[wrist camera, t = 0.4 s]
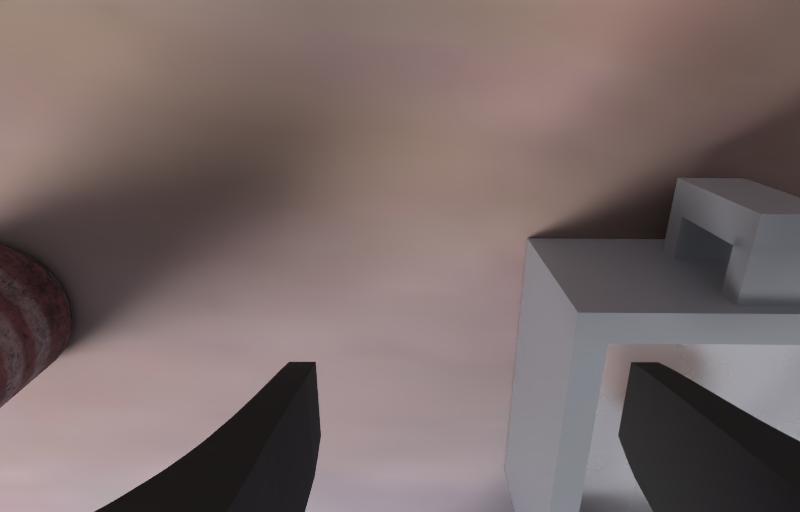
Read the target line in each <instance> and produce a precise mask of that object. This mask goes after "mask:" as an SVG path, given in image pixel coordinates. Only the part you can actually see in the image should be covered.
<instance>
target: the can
mask: <svg viewBox="0 0 800 512" xmlns="http://www.w3.org/2000/svg"><path fill="white" fill-rule="evenodd" d="M71 328H72V317H71V310H70V303H69V300H68V298H67V296H66V294H65V292H64V290H63V288H62V286H61V284H60V282H59V281H58V280H57V279H56V278H55V277H54V276H53V275H52V273H51V272H50V271H49V270H48V269H47V268H46V267H45V266H43V265H42V264H41V263H39V262H38V261H36V260H35V259H33V258H32V257H30V256H29V255H27V254H25V253H22V252H20V251H17V250H14V249H12V248H9V247H6V246H2V245H0V408H1V407H2V406H3V405H4V404H5V403H6V402H8V401H9V400H10V399H11V398H12V397H13V396H15V395H16V394H17V393H18V392H19V391H20V390H21V389H23V388H24V387H25V386H26V385H27V384H28V383H30V382H31V381H32V380H33V379H34V378H35V377H37V376H38V375H39V374H40V373H41V372H42V371H44V370H45V369H46V368H47V367H48V366H49V365H51V364H52V363H53V362H54V361H55V360H56V359H57V358H58V357H59V355H60V354H61V353H62V352H63V350H64V349H65V348H66V346H67V344H68V340H69V336H70V332H71Z"/></svg>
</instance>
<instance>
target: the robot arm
mask: <svg viewBox="0 0 800 512" xmlns="http://www.w3.org/2000/svg"><path fill="white" fill-rule="evenodd" d="M320 437H321V431H320V417H319V403H318V389H317V375H316V362H289V363H288V364H287V365H286V366H284V367H283V368H282V369H281V370H280V371H279V372H278V373H277V374H276V375H275V376H274V377H273V378H272V379H271V380H270V381H269V382H268V383H267V384H266V385H265V386H264V387H263V388H262V389H261V390H260V391H259V392H258V393H257V394H256V395H255V396H254V397H253V398H252V399H251V400H250V401H249V402H248V403H247V404H246V405H245V406H244V407H243V408H242V409H240V410H239V411H238V412H237V413H236V414H235V415H234V416H233V417H232V418H231V419H229V420H228V421H227V422H226V423H225V424H224V425H222V426H221V427H220V428H219V429H218V430H217V431H215V432H214V433H213V434H212V435H211V436H210V437H208V438H207V439H206V440H205V441H203V442H202V443H201V444H200V445H198V446H197V447H196V448H194V449H193V450H192V451H190V452H189V453H188V454H186V455H185V456H183V457H182V458H181V459H179V460H178V461H176V462H175V463H174V464H172V465H171V466H169V467H168V468H166V469H165V470H163V471H162V472H160V473H159V474H157V475H156V476H154V477H152V478H151V479H149V480H148V481H146V482H144V483H143V484H141V485H139V486H138V487H136V488H135V489H133V490H131V491H130V492H128V493H126V494H125V495H123V496H121V497H120V498H118V499H117V500H115V501H113V502H111V503H110V504H108V505H106V506H104V507H102V508H100V509H98V510H97V511H95V512H305V509H306V506H307V502H308V498H309V495H310V491H311V487H312V484H313V480H314V476H315V470H316V464H317V458H318V451H319V444H320ZM618 437H619V439H620V442H621V445H622V447H623V450H624V453H625V456H626V458H627V461H628V463H629V465H630V468H631V470H632V473H633V475H634V477H635V479H636V481H637V483H638V485H639V487H640V489H641V490H642V492H643V494H644V496H645V498H646V500H647V501H648V503H649V505H650V507H651V509H652V510H653V512H800V441H798V440H796V439H795V438H793V437H791V436H789V435H787V434H785V433H783V432H781V431H779V430H778V429H776V428H774V427H772V426H770V425H768V424H766V423H765V422H763V421H761V420H759V419H757V418H756V417H754V416H752V415H750V414H749V413H747V412H745V411H743V410H742V409H740V408H738V407H736V406H735V405H733V404H731V403H730V402H728V401H726V400H724V399H723V398H721V397H719V396H718V395H716V394H714V393H713V392H711V391H709V390H708V389H706V388H704V387H702V386H701V385H699V384H697V383H696V382H694V381H692V380H691V379H689V378H687V377H685V376H684V375H682V374H680V373H678V372H677V371H675V370H673V369H671V368H669V367H667V366H665V365H663V364H661V363H659V362H631V366H630V372H629V377H628V383H627V388H626V394H625V400H624V405H623V411H622V416H621V422H620V428H619V433H618Z"/></svg>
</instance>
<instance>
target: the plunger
mask: <svg viewBox="0 0 800 512" xmlns="http://www.w3.org/2000/svg"><path fill="white" fill-rule="evenodd" d="M631 362H659V363H661V364H663V365H665V366H667V367H669V368H671V369H673V370H675V371H677V372H678V373H680V374H682V375H684V376H685V377H687V378H689V379H691V380H692V381H694V382H696V383H697V384H699V385H701V386H702V387H704V388H706V389H708V390H709V391H711V392H713V393H714V394H716V395H718V396H719V397H721V398H723V399H724V400H726V401H728V402H730V403H731V404H733V405H735V406H736V407H738V408H740V409H742V410H743V411H745V412H747V413H749V414H750V415H752V416H754V417H756V418H757V419H759V420H761V421H763V422H765V423H766V424H768V425H770V426H772V427H774V428H776V429H778V430H779V431H781V432H783V433H785V434H787V435H789V436H791V437H793V438H795V439H796V440H798V441H800V345H743V344H613V343H608V346H607V352H606V358H605V364H604V370H603V376H602V381H601V387H600V393H599V399H598V405H597V410H596V416H595V422H594V428H593V434H592V440H591V445H590V451H589V457H588V463H587V469H586V475H585V480H584V486H583V492H582V498H581V504H580V510H579V512H653V510H652V509H651V507H650V505H649V503H648V501H647V500H646V498H645V496H644V494H643V492H642V490H641V489H640V487H639V485H638V483H637V481H636V479H635V477H634V475H633V473H632V470H631V468H630V465H629V463H628V461H627V458H626V456H625V453H624V450H623V447H622V445H621V442H620V439H619V437H618V433H619V428H620V422H621V416H622V411H623V405H624V400H625V394H626V388H627V383H628V377H629V372H630V366H631Z"/></svg>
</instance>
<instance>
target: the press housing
mask: <svg viewBox="0 0 800 512" xmlns="http://www.w3.org/2000/svg"><path fill="white" fill-rule="evenodd" d="M608 343H613V344H743V345H800V197H797V196H794V195H791V194H789V193H786V192H783V191H780V190H777V189H774V188H771V187H769V186H766V185H763V184H760V183H757V182H754V181H751V180H748V179H746V178H677V183H676V188H675V193H674V198H673V203H672V208H671V213H670V218H669V223H668V228H667V233H666V238H665V239H571V238H527V246H526V256H525V266H524V276H523V286H522V297H521V307H520V317H519V327H518V337H517V348H516V358H515V368H514V378H513V388H512V399H511V409H510V419H509V429H508V439H507V450H506V460H505V470H504V471H505V475H506V479H507V483H508V487H509V492H510V496H511V500H512V504H513V508H514V512H579V510H580V504H581V498H582V492H583V486H584V480H585V475H586V469H587V463H588V457H589V451H590V445H591V440H592V434H593V428H594V422H595V416H596V410H597V405H598V399H599V393H600V387H601V381H602V376H603V370H604V364H605V358H606V352H607V346H608Z"/></svg>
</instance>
